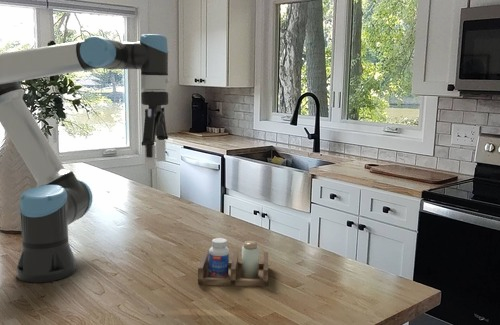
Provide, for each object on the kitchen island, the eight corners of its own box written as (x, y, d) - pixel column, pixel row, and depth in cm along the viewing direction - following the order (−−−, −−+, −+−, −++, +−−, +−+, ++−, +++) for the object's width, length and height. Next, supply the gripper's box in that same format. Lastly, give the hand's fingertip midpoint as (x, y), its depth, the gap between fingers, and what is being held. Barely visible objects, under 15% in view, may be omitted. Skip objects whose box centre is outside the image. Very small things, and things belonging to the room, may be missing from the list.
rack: (197, 288, 125) (197, 268, 124) (204, 269, 138) (204, 250, 137) (267, 290, 124) (268, 269, 123) (267, 271, 137) (268, 252, 136)
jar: (241, 278, 128) (241, 245, 127) (241, 272, 133) (242, 240, 131) (258, 279, 128) (259, 246, 127) (258, 272, 133) (259, 240, 131)
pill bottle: (210, 279, 128) (210, 244, 126) (206, 272, 133) (207, 237, 131) (230, 277, 129) (231, 242, 127) (226, 270, 134) (226, 236, 133)
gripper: (158, 91, 125) (159, 172, 128) (176, 90, 149) (176, 158, 153) (129, 91, 125) (131, 172, 128) (151, 90, 149) (153, 158, 153)
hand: (155, 164), depth 140 cm, fingers open, 13 cm apart
